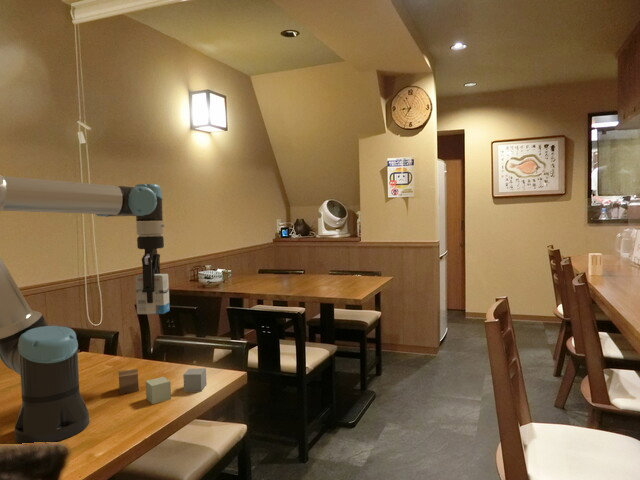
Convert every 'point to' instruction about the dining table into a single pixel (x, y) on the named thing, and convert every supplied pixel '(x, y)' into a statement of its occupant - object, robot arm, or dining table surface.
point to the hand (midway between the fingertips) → (153, 311)
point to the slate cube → (194, 380)
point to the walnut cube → (128, 381)
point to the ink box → (160, 293)
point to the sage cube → (158, 390)
